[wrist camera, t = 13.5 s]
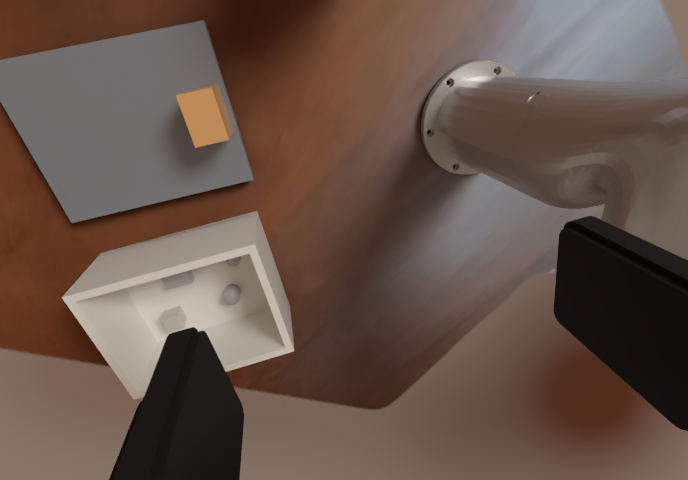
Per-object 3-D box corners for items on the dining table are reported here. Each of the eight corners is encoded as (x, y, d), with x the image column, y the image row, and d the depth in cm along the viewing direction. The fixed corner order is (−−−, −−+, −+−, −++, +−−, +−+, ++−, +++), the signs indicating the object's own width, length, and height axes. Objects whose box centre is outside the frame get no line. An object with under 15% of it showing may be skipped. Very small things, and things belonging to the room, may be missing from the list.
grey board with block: (207, 22, 34) (194, 12, 28) (254, 174, 41) (252, 194, 35) (-5, 64, 33) (-70, 64, 26) (81, 215, 40) (45, 244, 33)
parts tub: (256, 210, 43) (255, 244, 35) (289, 304, 49) (294, 351, 41) (101, 252, 41) (61, 297, 33) (155, 343, 48) (133, 399, 40)
